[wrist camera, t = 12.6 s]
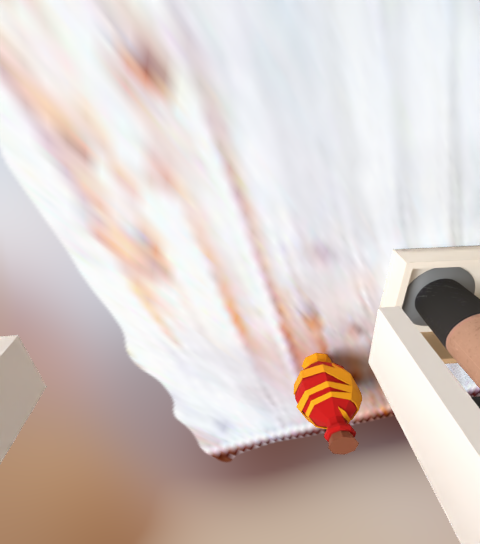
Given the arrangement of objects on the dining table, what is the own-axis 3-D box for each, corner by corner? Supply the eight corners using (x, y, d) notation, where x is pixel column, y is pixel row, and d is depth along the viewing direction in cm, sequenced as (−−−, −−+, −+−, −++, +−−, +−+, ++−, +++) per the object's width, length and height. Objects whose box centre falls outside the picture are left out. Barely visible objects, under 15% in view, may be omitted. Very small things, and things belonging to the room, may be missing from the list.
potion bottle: (346, 378, 59) (380, 460, 46) (291, 387, 60) (309, 471, 47) (345, 336, 54) (383, 415, 41) (284, 346, 54) (302, 428, 41)
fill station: (393, 249, 46) (418, 274, 40) (502, 244, 46) (544, 268, 40) (373, 334, 54) (391, 366, 48) (466, 330, 54) (497, 360, 48)
